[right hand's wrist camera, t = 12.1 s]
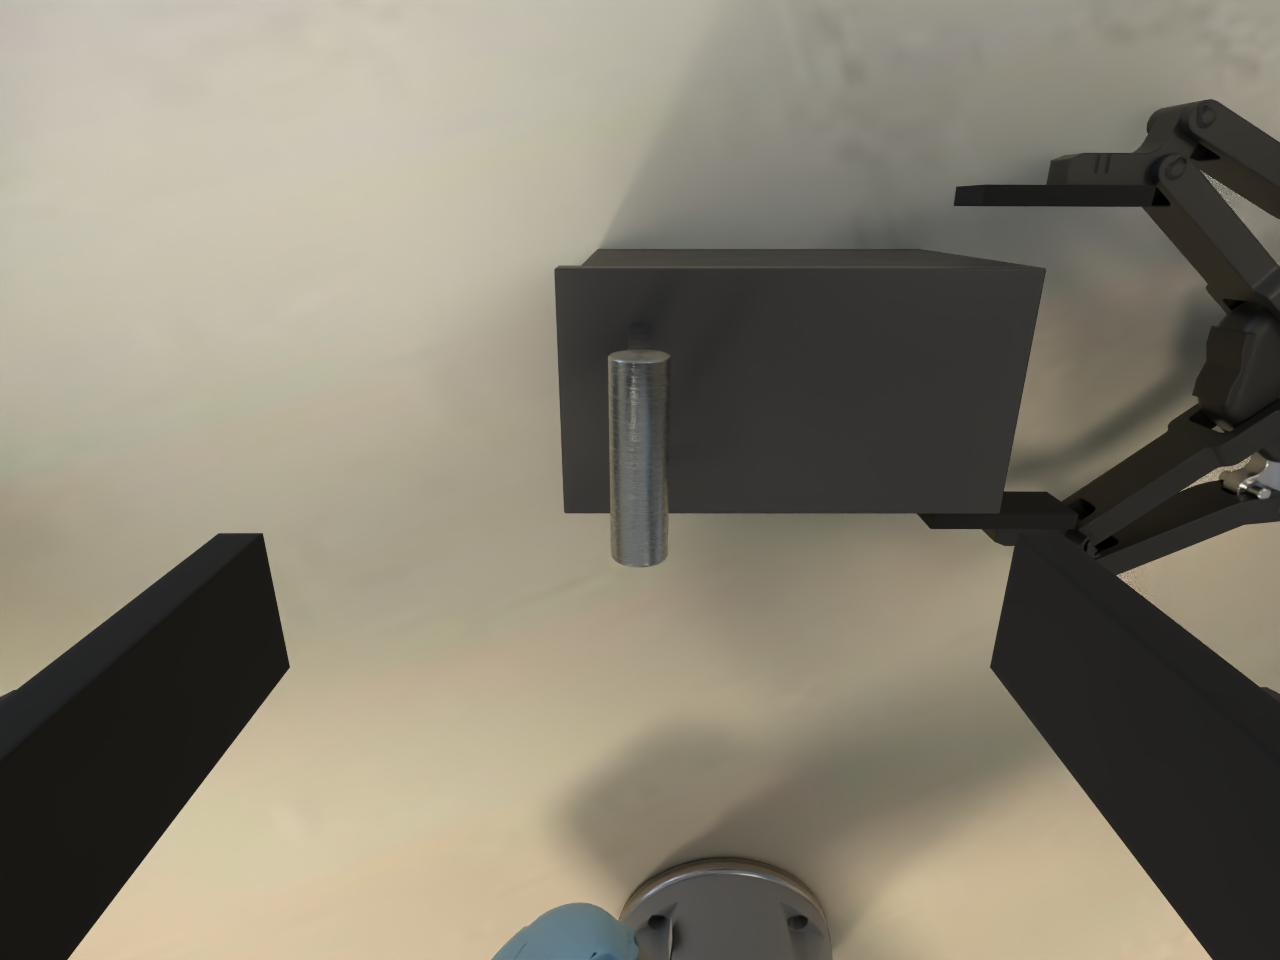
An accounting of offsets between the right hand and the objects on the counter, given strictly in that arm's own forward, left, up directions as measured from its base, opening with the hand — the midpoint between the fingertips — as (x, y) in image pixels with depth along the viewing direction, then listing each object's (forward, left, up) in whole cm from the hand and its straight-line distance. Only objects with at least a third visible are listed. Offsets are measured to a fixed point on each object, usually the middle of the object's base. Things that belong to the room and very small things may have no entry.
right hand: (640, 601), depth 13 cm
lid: (+3, -5, -16) cm, 16 cm away
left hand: (+7, -11, -20) cm, 24 cm away
